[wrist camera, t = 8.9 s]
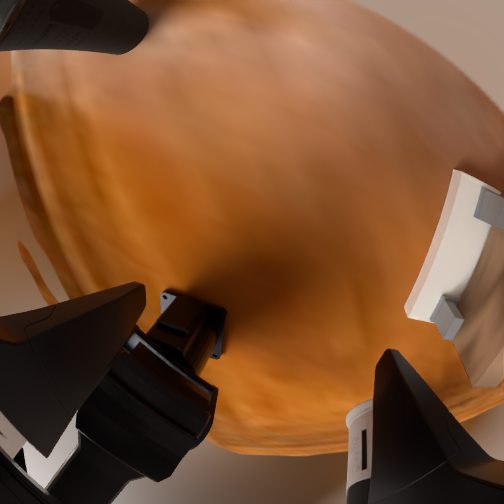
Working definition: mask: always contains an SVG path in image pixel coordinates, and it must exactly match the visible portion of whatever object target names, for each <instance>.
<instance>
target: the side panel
mask: <svg viewBox="0 0 504 504" xmlns="http://www.w3.org/2000/svg"><path fill="white" fill-rule="evenodd" d="M500 195H501V192H500V191H498V190H497V189H495V188H493V187H491V186H489V185H488V184H486V183H484V182H482V181H480V180H478V179H476V178H474V177H472V176H470V175H468V174H466V173H464V172H462V171H458V170H455V169H453V173H452V177H451V181H450V185H449V189H448V193H447V196H446V200H445V203H444V207H443V210H442V213H441V216H440V219H439V222H438V225H437V228H436V231H435V234H434V237H433V240H432V243H431V245H430V248H429V251H428V253H427V256H426V258H425V261H424V263H423V266H422V268H421V271H420V273H419V275H418V278H417V280H416V282H415V284H414V287H413V289H412V291H411V293H410V295H409V297H408V299H407V302H406V304H405V306H404V309H405V312H406V314H407V317H408V318H412V319H417V320H422V321H427V322H432V323H435V324H436V326H437V328H438V330H439V332H440V335H441V337H442V339H444V340H450V341H452V340H453V338H454V336H455V335H456V333H457V332H458V330H459V328H460V327H461V325H462V323H463V321H464V318H463V317H462V315H461V313H460V312H459V310H458V309H457V305H458V303H459V301H460V299H461V297H462V295H463V293H464V291H465V289H466V287H467V285H468V283H469V281H470V279H471V277H472V274H473V272H474V270H475V267H476V265H477V263H478V260H479V258H480V255H481V253H482V250H483V248H484V245H485V243H486V240H487V237H488V234H489V231H490V228H491V225H493V226H495V227H497V228H499V229H501V230H503V231H504V198H502V197H500Z"/></svg>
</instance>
